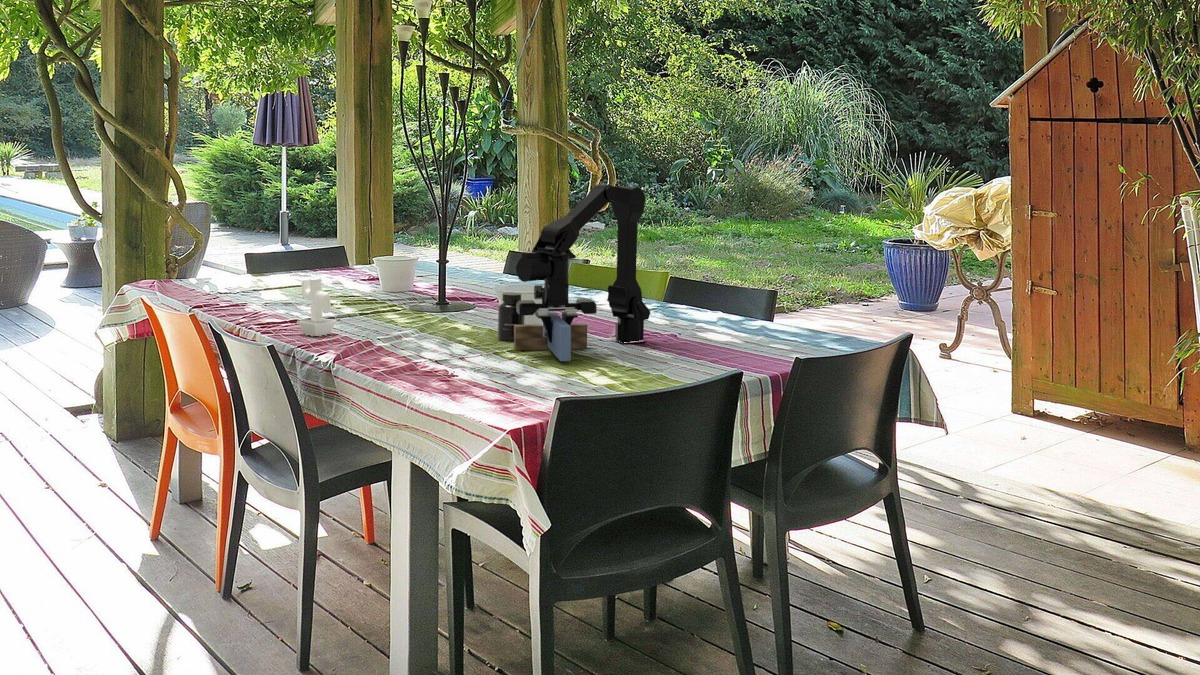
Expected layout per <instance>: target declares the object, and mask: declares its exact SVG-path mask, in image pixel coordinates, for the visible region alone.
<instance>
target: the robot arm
mask: <svg viewBox="0 0 1200 675" xmlns="http://www.w3.org/2000/svg"><path fill="white" fill-rule="evenodd" d="M608 203H609V204H611V209H612V213H613V215H614V217H615V219H616V221H617V241H616V242H617V244H616V245H617V246H616V248H617V251H616V278H615V281H614V282H613V284H612V285H611V284H609V285H608V287H607V299H606V301H607V302H608V305H609V308H611V309H610V310H611V312H612V317H613V318H617V322H616V323H614V324H615V325H614V326H615V331H614V332H615V334H614V336H615V337H614V338H616V339H617V340H618V341H620V342H622V343H624V342H630V341H639V340H644V329H645V328H644V327H645V321H646V320H647V321H648V320H649V318H650V315H651V310H650V309H649V307H648V306H647V305H646V304H645V302H644V301H643V295H642V294H643V293H642V288H641V287H640V285H639V283H638V281H637V254H638V253H637V252H638V249H637V248H638V224H639V221H640V220H641V217H642V215H643V214H644V213H645V205H646V193H645V192H644V191H643V189H642V188H640V187H636V186H622V185H620V186H614V185H612V184H608V183H607V184H606V183H605V184H603V183H599V184H596V185H594V187H593V188H592V190H591V191H590V192H589V193H588V194H587V195H586V196H585V197H584V198H582V199H581V201H580V202H579V203H577V204H576V205H575V206H574V207H573V208H572V210H570V211H569V212H568V213H567V214H566V215H564V216H563V217H559V218H558V219H555V220H553V221H551V222H550V223H548V224H546V225H545V226H544V227H543V228H542V229H541V231H540V236H539V237H538V239H537V241H536V243H535V244H534V247H533V248H532V250H531V251H530V252H528V251H526V252H525V251H524V252H521V257H520V258H519V259H518V261H517V264H516V265H515V271H516V275H517V277H518V278H519V280H520V281H521V282H524V283H525V282H527V283H528V282H536V281H544V286H543V285H542V284H541V285H539V284H538V285H534V286H533V297H534V300H541V303H536V302H535V301H534V300H531V299H530V300H529V299H526V300H525V299H523V300H522V299H521V300H519V301H518V302H517V304H516V312H517V313H518V314H519V315H525V316H534V315H535V316H536V318H538V319H541V322H542V325H543V324H544V327H545V330H546V333H547V336H548V339H549V342H550V343H552V329H551V316H550V315H549V314H548V313H549V311H554V312H561V318H562V319H563V320H564V321H565V322H566V323H567V324H568V325H569V326H570V324H573V321H574V319H575V318H578V317H579V315H578V313H577V312H578V311H581V312H582V313H583V314H584V315H588V314H589V315H593V314H594V315H596V314H597V310H598V309H597V303H596V302H595V301H594V300H592V299H591V298H583V299H582V298H579V299H578V298H577V299H576V301H575V302H569V287H570V284H569V282H570V281H569V279H570V278H569V277H570V276H569V275H570V272H569V271H570V270H569V269H570V266H569V264H570V260H572V259H576V258H577V256H576V254H574V253H573V252H572V251H571V248H572V247H573V245H574V244H575V243H576V241H577V240H578V238H579V233H580V232H581V230H582V228H583V227H585V226H586V224H588V223H589V222H590V220H592V219H593V218H594V217H595V216H596V215H597V214H598V213H599V212H600V211H601V210H602V209H603V208H605V206H607V204H608ZM616 339H615V340H616ZM617 340H616V341H617ZM618 341H617V342H618ZM620 342H619V343H620Z"/></svg>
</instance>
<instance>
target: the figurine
mask: <svg viewBox="0 0 1200 675" xmlns="http://www.w3.org/2000/svg"><path fill="white" fill-rule="evenodd" d="M323 288H324V286H323V283H322V278H321V277H319V276H316V277H311V278H302V279H301V296H302V299H304V300H306V301H310V317H311V318H308V319H301V320H297V321H296V323H297V324H298V325H299V328H300V329H301V331H302V332H303V333H304V335H305V336H308V335H310V337H313V336H319V337H323V336H322V335H325V336H328V335H327V334H331V333H332V331H333V329H334V327H335V325H336V323H337V322H338V320H334V319H329V318H323V314H330V313H331V310H332V308H331V307H332V306H331V296H330V293H328V292H326V291H323V290H322V289H323Z"/></svg>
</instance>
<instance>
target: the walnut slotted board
mask: <svg viewBox="0 0 1200 675" xmlns="http://www.w3.org/2000/svg"><path fill="white" fill-rule="evenodd" d="M570 326H571V350H580V349H581V350H584V349H588V324H587V323H586V322H583V323H581V322H580V323H571V324H570ZM513 349H514V351H517V352H518V351H543V350H544V351H545V350H546V351H547V350H548V351H549V350H550V349H549V348H548V336H543V323H542V324H539V323H538V324H537V323H535V324H532V323H531V324H524V325H514V342H513ZM550 351H551V350H550Z"/></svg>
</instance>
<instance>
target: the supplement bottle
mask: <svg viewBox="0 0 1200 675" xmlns="http://www.w3.org/2000/svg"><path fill="white" fill-rule="evenodd" d="M501 300H502V303H501V304H499V306H498V307H497V308H498V310H497V311H498V312H497V313H498V314H497V316H498V317H497V321H498V322H497V338H498V340H499V341H502V342H507V343H509V342H513V343H514V325H525V319H526V318H525V316H526V315H519V314H518V313H517V312H516V304H517V302H518V301H519V300H522V293H519V292H503V293H502V299H501Z"/></svg>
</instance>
